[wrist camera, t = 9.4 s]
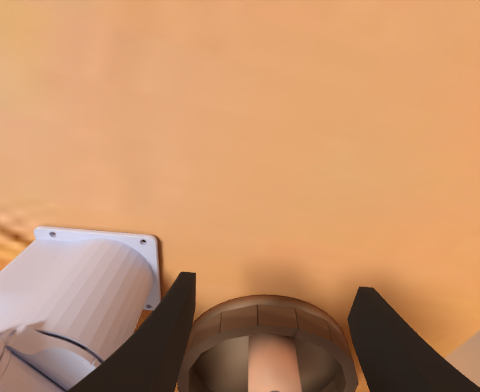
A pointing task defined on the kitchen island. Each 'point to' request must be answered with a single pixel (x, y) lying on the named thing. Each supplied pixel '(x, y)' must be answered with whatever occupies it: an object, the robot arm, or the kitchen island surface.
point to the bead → (272, 364)
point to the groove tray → (265, 322)
